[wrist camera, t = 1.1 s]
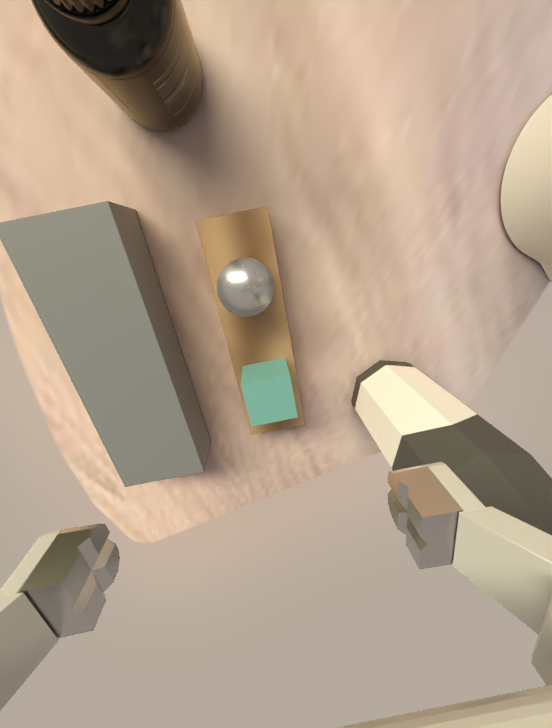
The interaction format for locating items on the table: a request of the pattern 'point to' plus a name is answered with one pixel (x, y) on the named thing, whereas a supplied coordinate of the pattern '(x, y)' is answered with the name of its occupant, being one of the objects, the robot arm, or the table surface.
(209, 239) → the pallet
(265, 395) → the mint green cube
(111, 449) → the dock
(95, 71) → the supplement bottle
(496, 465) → the wine bottle
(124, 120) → the table surface
